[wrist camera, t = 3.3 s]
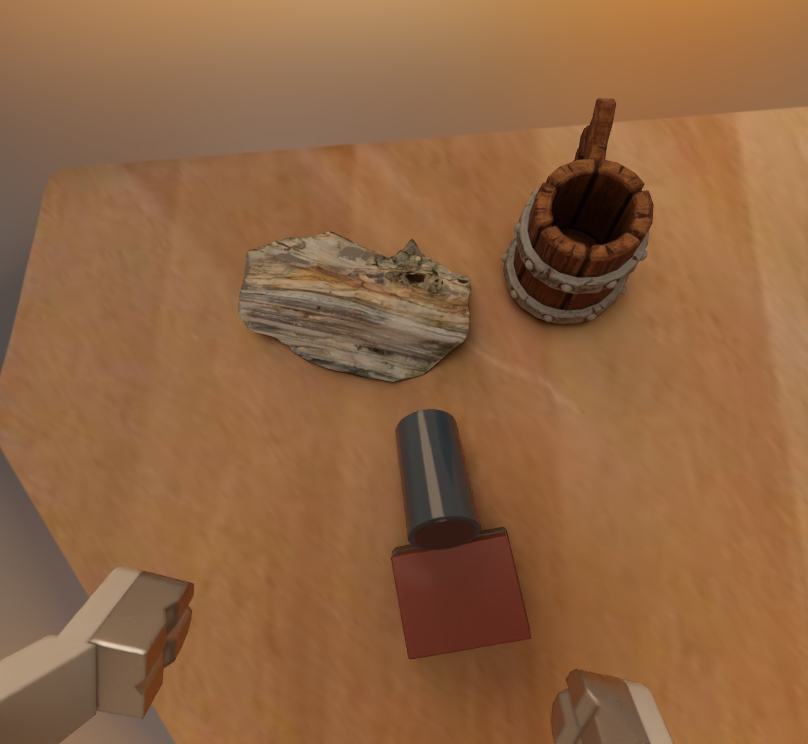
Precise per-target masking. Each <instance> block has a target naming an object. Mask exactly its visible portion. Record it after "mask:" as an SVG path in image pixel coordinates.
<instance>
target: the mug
mask: <svg viewBox="0 0 808 744" xmlns="http://www.w3.org/2000/svg"><path fill="white" fill-rule="evenodd" d="M615 107H616V102H615V100H614V99H598V100H596V104H595V109H594V113H593V118H592V120H591V123H590V125H589V126H587V127H586V128H584V130H583V132H582V135H581V137H580V143H579V148H578V149H577V152H576V156H575V160H574V161H572V162H571V163H569V164H566V165H564V166H561V167H559V168H558V169H557V170H555V171H554V172H553V173H552V174H551V175H549V176H548V178H547V181H546V182H545V183H543V184H542V185H541V187H540V189H539V190H538V189H536V190H534V191H533V192H532V194H531V197H530V199H529V201H528V203H527V204H526V206H525V208H524V210H523V211H522V214H521V216H520V219H519V222H518V223H517V224H516V225H515V227H514V231H515V232H516V234H515V236H514V238H513V239H512V241H511V243H510V245H509V247H508V249H507V252H506V253H505V254H504V255H503V256H502V261H503V262H504V263H505V264H504V275H505V279H506V283H507V287H508V290H509V291H510V293H511V297H512V298H514V299H515V300H516V301H517V303H518V304H519V305H520V306H521V307H522V308H523V309H525V310H526V311H528V312H529V313H530V314H532V315H533V316H535V317H536V318H538V319H542V320H545V321H547V322H553V323H557V324H564V323H581V322H583V321H586V320H590V321H591V320H594V319H595V317H596V316H599V315H600V314H602V313H603V312H604V311H605V310H606V309H607V308H609V307H610V306H611V305H612V304H613V303H614V302H615V301H616V299H617V298H618V296H619V295H622V294H624V293H625V292H626V287H625V286H624V285H625V283H626V281H627V279H628V275H629V274H630V273H631V272H632V271H633V270H634V269H635V267H636V266H637V264H638V262H639V261H642V260H644V259H645V258H646V257H647V251H646V250H645V249H646V247H647V245H648V236H649V228H650V226H651V224H652V219H653V202H652V199H651V196H650V193H649V191H642V188H643V186H644V183H643V182H642V180H641V179H640V178H639V177H638V176H637V175H636V174H635V173H634V172H633V171H631V170H629V169H627V168H626V167H624V166H622V165H620V164H619V163H616V162H611V161H607V160H605V156H606V149H607V143H608V139H609V135H610V131H611V128H612V124H613V119H614V113H615Z"/></svg>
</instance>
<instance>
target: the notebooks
mask: <svg viewBox="0 0 808 744" xmlns="http://www.w3.org/2000/svg"><path fill="white" fill-rule="evenodd" d="M392 553H393V556H392V557H391V560H392V566H393V572H394V578H395V583H396V589H397V595H398V601H399V607H400V612H401V618H402V624H403V630H404V635H405V641H406V647H407V653H408V658H409V659H416V658H422V657H427V656H433V655H439V654H445V653H450V652H456V651H462V650H468V649H473V648H479V647H485V646H491V645H496V644H502V643H508V642H514V641H519V640H525V639H530V638H531V634H530V628H529V623H528V619H527V615H526V611H525V606H524V602H523V598H522V594H521V589H520V585H519V581H518V577H517V572H516V568H515V564H514V560H513V555H512V551H511V547H510V543H509V538H508V534H507V530H506V529H505V528H504V527H500V528H494V529H489V530H484V531H480V533H479V534H478V535H477V536H476V537H475V538H474V539H473V540H471V541H470V542H468V543H466V544H463V545H461V546H458V547H454V548H450V549H443V550H426V549H421V548H417V547H415V546H413V545H412V544H410V545H405V546H400V547H396V548H395V549H394V550H393V551H392Z"/></svg>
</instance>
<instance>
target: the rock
mask: <svg viewBox="0 0 808 744" xmlns="http://www.w3.org/2000/svg"><path fill="white" fill-rule="evenodd" d="M469 285H470V278H469V277H468V276H465V275H462V274H457V273H452V272H450V270H449V269H448V268H447V267H444V266H442V264H438V263H436V261H435V260H432V259H431V258H427V257H425V256H424V255H423V254H422V253H421V252H420V250H419V248H418V246H417V245H416V243H415V242H414V240H413V239H411V240H410V241H409V242H408V244H407V245H406V246H405V247H404V249H403V250H401V251H399V252H398V253H397V254H396V255H395V256H392V257H390V258H388V257H385V256H383V255H379V254H377V253H375V252H374V251H370V250H368V249H366V248H365V247H361V246H359V245H358V243H357V242H354V241H351V240H350V239H348V238H345V237H342V236H340V235H337V234H335V233H333V232H329V231H327V232H325V233H323V234H319V235H317V236H313V237H305V238H286V239H282V240H278V241H275V242H273V243H271V244H267V245H264V246H262V247H259V248H257V249H252V250H249V251H248V253H247V258H246V266H245V275H244V280H243V284H242V288H241V292H240V295H239V312H238V315H239V316H240V318H241V319H242V320H243V322H244V323H245V325H246V326H247V327H248V329H249V330H251V331H254V332H258V333H262V334H265V335H269V336H273V337H275V338H277V339H278V340H280V341H281V342H282V343H284V344H286V345H288V346H289V347H290V348H291V349H292V351H293V352H295V353H296V354H298V355H299V356H301V357H303V358H305V359H307V360H308V361H309V362H312V363H315V364H317V365H320V366H322V367H325V368H328V369H332V370H336V371H340V372H345V373H349V374H354V375H358V376H363V377H369V378H374V379H380V380H386V381H391V382H394V381H398V380H402V379H406V378H410V377H416V376H421V375H423V374H425V373H426V372H428V371H429V370H430V369H431V368H432V367H433V366H434V365H435V364H436V363H438V362H439V361H441V359H442V358H443V357H444V356H445V355H446V354H448V353H449V352H450V351H451V350H452V349H453V348H454V347H456V346H458V345H459V344H461V343H463V341H464V339H465V338H466V336H467V333H468V328H469V320H470V313H469V309H468V298H469V294H470V291H471V287H469Z"/></svg>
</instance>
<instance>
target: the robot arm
mask: <svg viewBox="0 0 808 744" xmlns="http://www.w3.org/2000/svg"><path fill="white" fill-rule="evenodd" d="M193 596H194V584H193V583H190V582H186V581H182V580H178V579H174V578H170V577H166V576H162V575H158V574H155V573H151V572H147V571H143V570H138V569H134V568H130V567H126V566H122V565H120V566H119V567H117V568H116V569H114V570H113V571H112V572H111V573H110V574H109V575H108V576H107V578H106V579H105V580H104V581H103V582H102V584H101V585H100V586H99V587H98V588H97V590H96V591H95V592H94V593H93V594H92V596H91V597H90V598H89V599H88V601H87V602H86V603H85V604H84V605H83V606H82V608H81V609H80V610H79V611H78V612H77V614H76V615H75V616H74V617H73V618H72V620H71V621H70V622H69V623H68V624H67V626H66V627H65V628H64V629H63V630H62V632H61V633H60V634H59V635H58V636H55V635H48V636H46V637H44V638H42V639H40V640H39V641H37V642H35V643H33V644H31V645H29V646H27V647H25V648H23V649H22V650H20V651H18V652H16V653H14V654H12V655H10V656H8V657H6V658H5V659H3V660H1V661H0V744H59V743H60V742H62V741H63V740H64V739H65V738H66V737H68V736H69V735H70V734H72V733H73V732H74V731H75V730H76V729H78V728H79V727H80V726H82V725H83V724H84V723H85V722H87V721H88V720H89V719H91V718H92V717H93V716H94V715H96V711H100V712H106V713H112V714H117V715H122V716H128V717H133V718H139V719H143V718H144V716H145V714H146V712H147V710H148V709H149V707H150V705H151V704H152V702H153V700H154V698H155V696H156V694H157V693H158V691H159V689H160V687H161V685H162V683H163V671H164V668H165V667H166V666H168V665H169V664H171V663H172V662H174V661H175V659H176V657H177V655H178V654H179V652H180V650H181V648H182V646H183V643H184V641H185V638H186V636H187V633H188V630H189V626H190V622H191V617H192V610H191V609H190V607H189V606H188V605H189V603H190V601H191V599H192V598H193ZM566 682H567V685H568V688H567V689H565V690H563V691H561V692H559V693H558V694H557V696H556V699H555V701H554V703H553V706H552V714H551V726H552V734H553V739H554V743H555V744H674V743H673V741H672V739H671V736H670V734H669V732H668V730H667V727H666V725H665V723H664V720H663V718H662V716H661V714H660V711H659V709H658V707H657V705H656V702H655V700H654V698H653V695H652V693H651V691H650V690H649V689H648V687H647V686H646V685H644V684H640V683H636V682H631V681H627V680H623V679H619V678H616V677H611V676H607V675H602V674H597V673H592V672H588V671H583V670H578V669H575V670H573V671H571V672H570V673H569V675H568V677H567V678H566Z"/></svg>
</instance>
